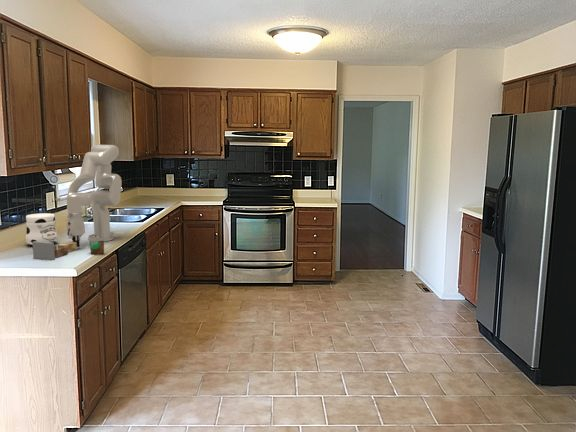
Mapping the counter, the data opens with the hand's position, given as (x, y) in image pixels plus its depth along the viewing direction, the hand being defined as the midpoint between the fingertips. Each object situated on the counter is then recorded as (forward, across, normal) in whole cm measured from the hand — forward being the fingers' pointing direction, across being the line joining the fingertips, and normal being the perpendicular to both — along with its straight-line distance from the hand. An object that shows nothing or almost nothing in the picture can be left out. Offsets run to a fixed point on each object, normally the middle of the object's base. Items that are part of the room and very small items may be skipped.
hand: (76, 246), depth 276 cm
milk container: (+1, +3, +27) cm, 27 cm away
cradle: (+1, -16, 0) cm, 16 cm away
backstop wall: (+1, -25, 0) cm, 25 cm away
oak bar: (+2, -7, 0) cm, 8 cm away
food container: (+2, -6, -17) cm, 18 cm away
